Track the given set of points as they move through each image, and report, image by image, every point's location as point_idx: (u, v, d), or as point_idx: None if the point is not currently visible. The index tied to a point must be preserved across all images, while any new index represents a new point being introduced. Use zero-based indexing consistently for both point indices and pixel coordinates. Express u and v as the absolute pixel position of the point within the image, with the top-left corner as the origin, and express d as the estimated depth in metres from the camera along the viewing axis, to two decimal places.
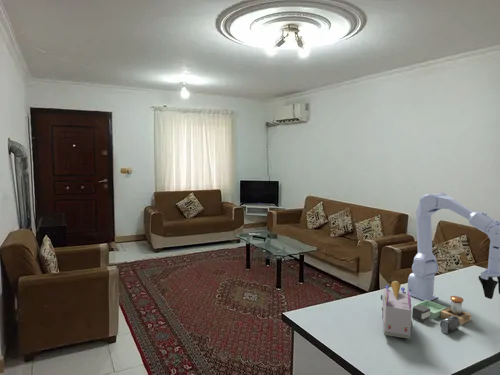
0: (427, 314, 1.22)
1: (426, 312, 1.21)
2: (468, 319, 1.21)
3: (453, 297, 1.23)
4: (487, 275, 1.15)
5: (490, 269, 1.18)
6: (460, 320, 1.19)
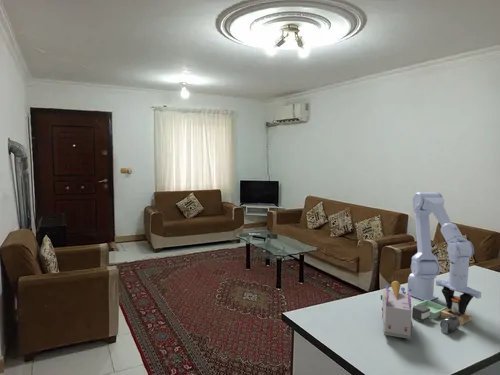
0: (427, 314, 1.22)
1: (426, 312, 1.21)
2: (468, 319, 1.21)
3: (453, 297, 1.23)
4: (437, 281, 1.27)
5: None
6: (460, 320, 1.19)
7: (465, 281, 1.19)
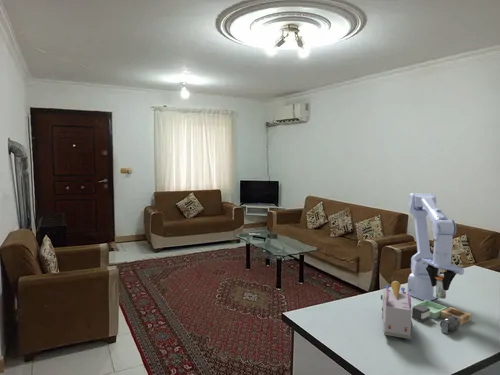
0: (427, 314, 1.22)
1: (426, 312, 1.22)
2: (468, 319, 1.21)
3: (437, 276, 1.26)
4: (421, 260, 1.30)
5: None
6: (460, 320, 1.19)
7: (448, 258, 1.22)
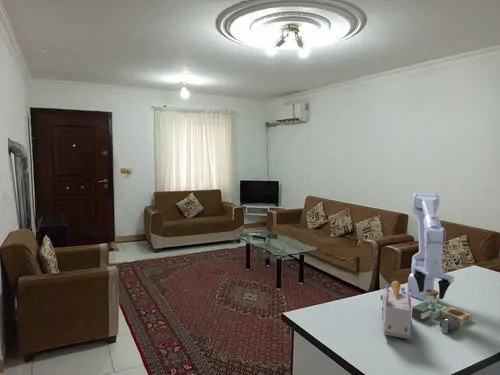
0: (427, 314, 1.22)
1: (426, 312, 1.22)
2: (468, 319, 1.21)
3: (429, 290, 1.28)
4: (413, 267, 1.32)
5: None
6: (460, 320, 1.19)
7: (439, 266, 1.24)
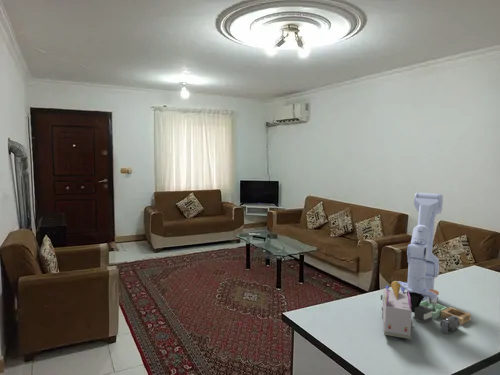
0: (429, 314, 1.21)
1: (428, 312, 1.21)
2: (468, 319, 1.21)
3: (429, 290, 1.28)
4: None
5: None
6: (460, 320, 1.19)
7: (422, 283, 1.22)
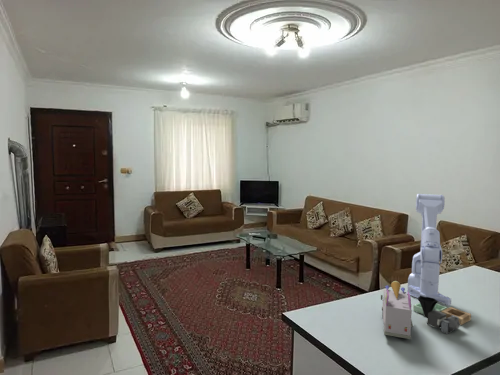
0: None
1: (442, 318, 1.17)
2: (468, 319, 1.21)
3: None
4: (409, 287, 1.26)
5: None
6: (460, 320, 1.19)
7: (435, 287, 1.18)
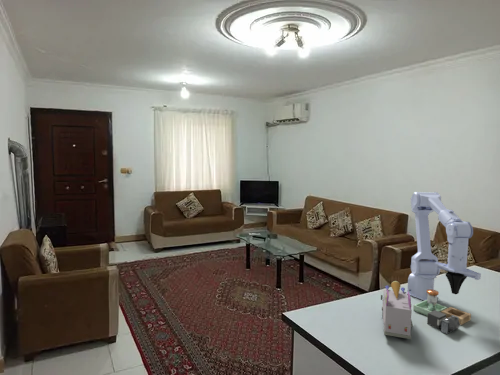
0: None
1: (442, 318, 1.17)
2: (468, 319, 1.21)
3: (429, 290, 1.28)
4: (435, 264, 1.25)
5: None
6: (460, 320, 1.19)
7: (464, 262, 1.16)
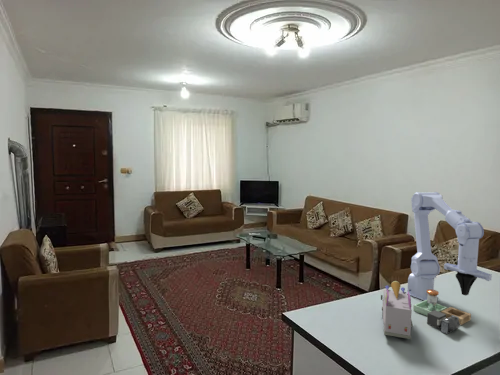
0: None
1: (442, 318, 1.17)
2: (468, 319, 1.21)
3: (429, 290, 1.28)
4: (445, 265, 1.24)
5: None
6: (460, 320, 1.19)
7: (475, 263, 1.16)
